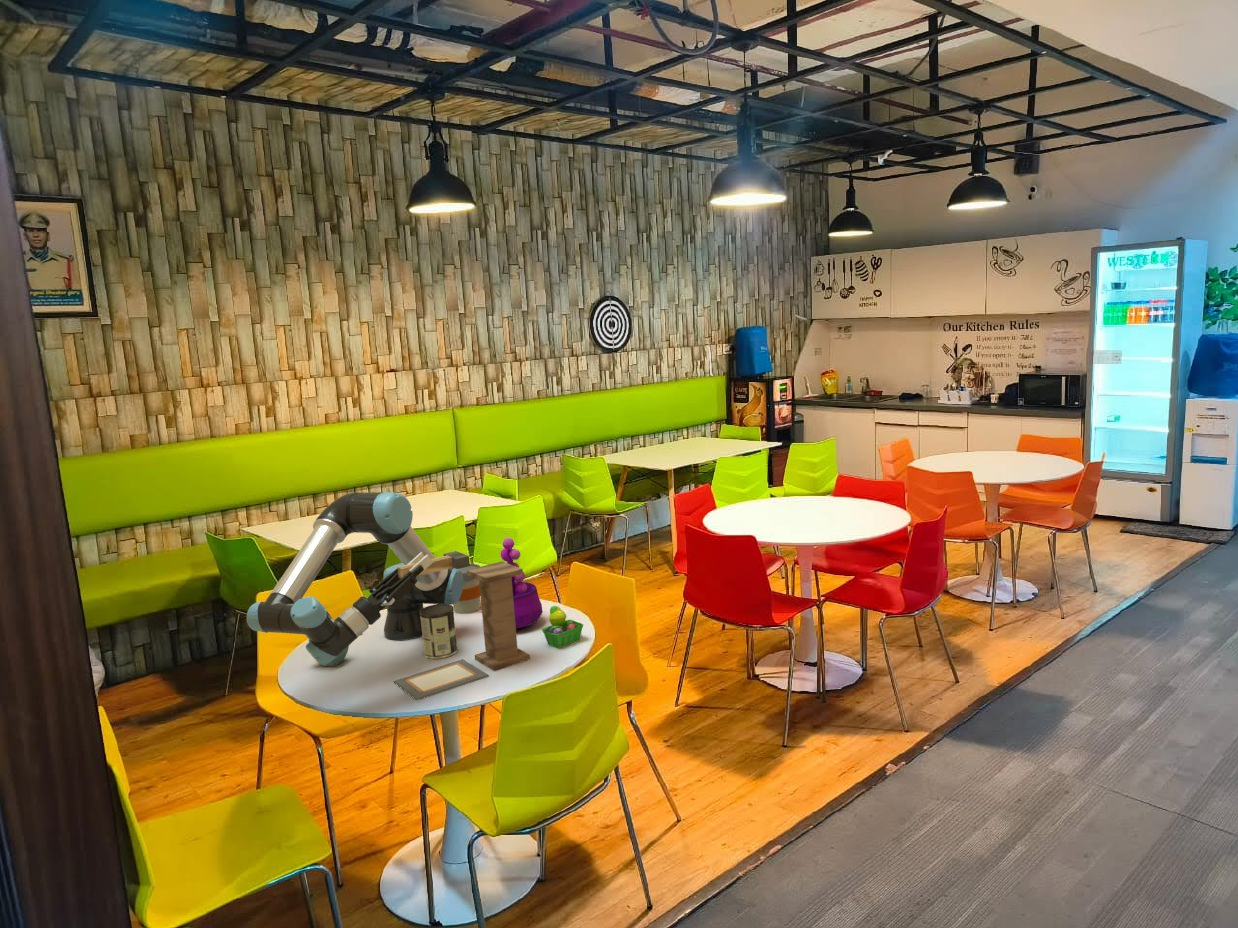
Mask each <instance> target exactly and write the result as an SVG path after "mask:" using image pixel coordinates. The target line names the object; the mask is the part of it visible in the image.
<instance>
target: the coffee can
mask: <svg viewBox="0 0 1238 928" xmlns="http://www.w3.org/2000/svg"><path fill="white" fill-rule="evenodd" d="M419 613H420V618H421V627H422V636H421V637H422V643H423V654H424V657H425V658H427V659H431V660H441V659H446V658H449V657H452V656H454V655H456V654H457V653H458V645H457V634H456V624H455V615H454V614H455V610H454V606H453V604H452V605H449V604H430V605H428V606H424V607H423V608H422V609H421V610H420V611H419Z"/></svg>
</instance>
